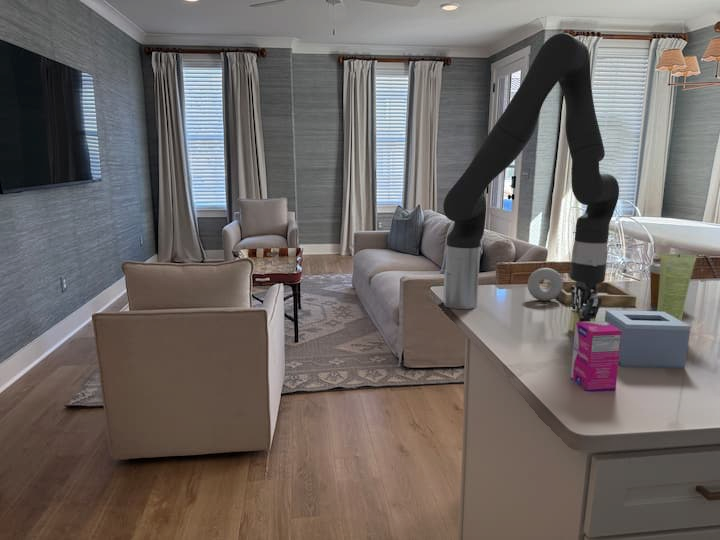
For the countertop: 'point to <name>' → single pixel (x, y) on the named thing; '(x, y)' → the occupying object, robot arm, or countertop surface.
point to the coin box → (650, 338)
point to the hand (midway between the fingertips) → (581, 331)
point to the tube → (674, 282)
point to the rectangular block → (575, 319)
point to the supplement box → (596, 355)
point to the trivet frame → (617, 297)
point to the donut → (551, 291)
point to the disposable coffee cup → (654, 282)
